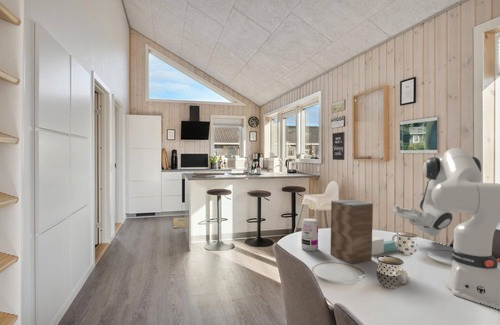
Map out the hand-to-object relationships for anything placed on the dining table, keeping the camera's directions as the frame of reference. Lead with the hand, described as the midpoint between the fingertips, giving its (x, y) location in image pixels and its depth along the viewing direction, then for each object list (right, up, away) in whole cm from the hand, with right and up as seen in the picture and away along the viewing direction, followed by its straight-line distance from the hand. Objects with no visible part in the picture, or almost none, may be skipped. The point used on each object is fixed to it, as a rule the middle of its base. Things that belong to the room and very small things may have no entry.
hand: (404, 208), depth 156 cm
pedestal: (-33, -21, -16) cm, 42 cm away
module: (-15, -20, -7) cm, 26 cm away
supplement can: (-50, -20, -4) cm, 54 cm away
